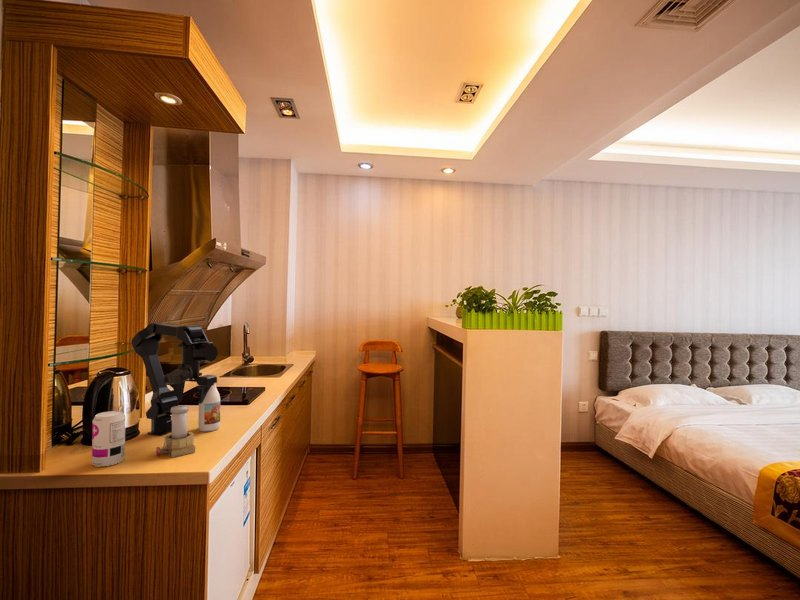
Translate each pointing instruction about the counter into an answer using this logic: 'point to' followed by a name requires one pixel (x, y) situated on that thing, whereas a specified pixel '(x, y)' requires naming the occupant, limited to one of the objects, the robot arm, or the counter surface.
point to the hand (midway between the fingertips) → (190, 402)
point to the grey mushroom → (179, 421)
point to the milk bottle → (210, 411)
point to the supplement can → (108, 438)
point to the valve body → (177, 445)
